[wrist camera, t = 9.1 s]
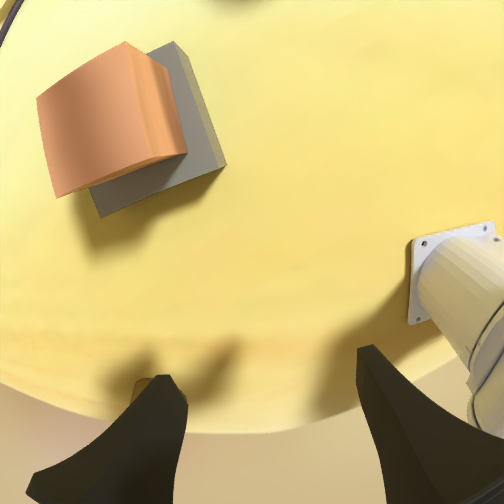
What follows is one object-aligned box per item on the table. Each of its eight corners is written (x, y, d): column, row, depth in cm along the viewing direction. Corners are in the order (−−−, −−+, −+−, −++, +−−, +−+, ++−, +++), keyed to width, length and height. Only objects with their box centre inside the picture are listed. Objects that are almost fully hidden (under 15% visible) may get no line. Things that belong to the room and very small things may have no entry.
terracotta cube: (167, 69, 12) (125, 41, 7) (188, 152, 13) (150, 157, 9) (92, 103, 12) (36, 98, 8) (110, 180, 14) (56, 198, 9)
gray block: (189, 57, 14) (173, 41, 11) (227, 164, 17) (219, 168, 14) (92, 109, 15) (64, 106, 12) (125, 205, 18) (100, 218, 15)
